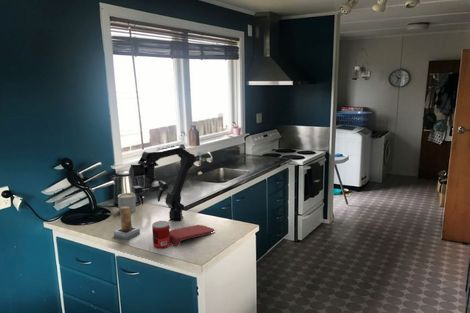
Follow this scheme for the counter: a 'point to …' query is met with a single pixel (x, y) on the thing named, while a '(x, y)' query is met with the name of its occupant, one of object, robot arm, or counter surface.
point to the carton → (188, 233)
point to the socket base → (127, 235)
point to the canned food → (161, 234)
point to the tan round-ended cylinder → (126, 219)
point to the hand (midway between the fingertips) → (150, 203)
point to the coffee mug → (127, 201)
